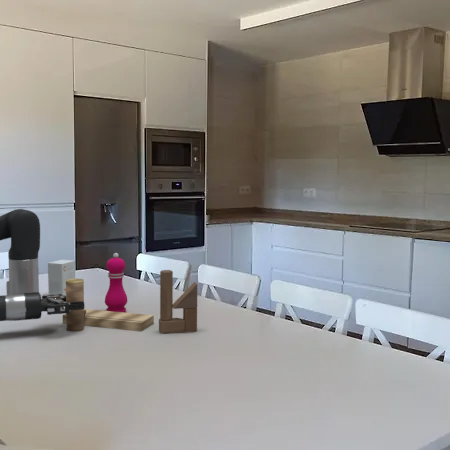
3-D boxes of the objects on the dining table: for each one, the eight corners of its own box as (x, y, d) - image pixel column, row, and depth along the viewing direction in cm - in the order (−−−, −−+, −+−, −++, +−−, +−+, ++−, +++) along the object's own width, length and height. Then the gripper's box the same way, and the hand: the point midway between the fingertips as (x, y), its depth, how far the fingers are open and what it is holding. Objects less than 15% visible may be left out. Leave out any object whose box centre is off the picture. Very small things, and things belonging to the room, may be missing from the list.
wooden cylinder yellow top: (63, 330, 164) (62, 281, 162) (77, 323, 171) (76, 276, 170) (78, 332, 162) (77, 282, 161) (92, 325, 170) (91, 277, 168)
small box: (61, 293, 212) (61, 259, 211) (76, 295, 210) (75, 260, 209) (47, 298, 205) (47, 262, 203) (62, 299, 202) (62, 263, 201)
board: (62, 323, 172) (62, 314, 171) (78, 316, 180) (78, 308, 180) (141, 331, 164) (141, 322, 164) (153, 323, 173) (153, 314, 173)
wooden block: (197, 331, 165) (197, 270, 163) (160, 334, 162) (160, 272, 160) (194, 328, 168) (195, 268, 166) (158, 330, 165) (158, 269, 164)
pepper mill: (130, 311, 187) (129, 251, 185) (124, 317, 180) (123, 254, 178) (108, 310, 188) (108, 251, 186) (101, 316, 180) (101, 254, 178)
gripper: (21, 313, 166) (77, 308, 172) (25, 326, 153) (86, 320, 159) (20, 288, 165) (77, 284, 171) (24, 298, 152) (85, 294, 159)
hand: (81, 301), depth 165 cm, fingers open, 8 cm apart
